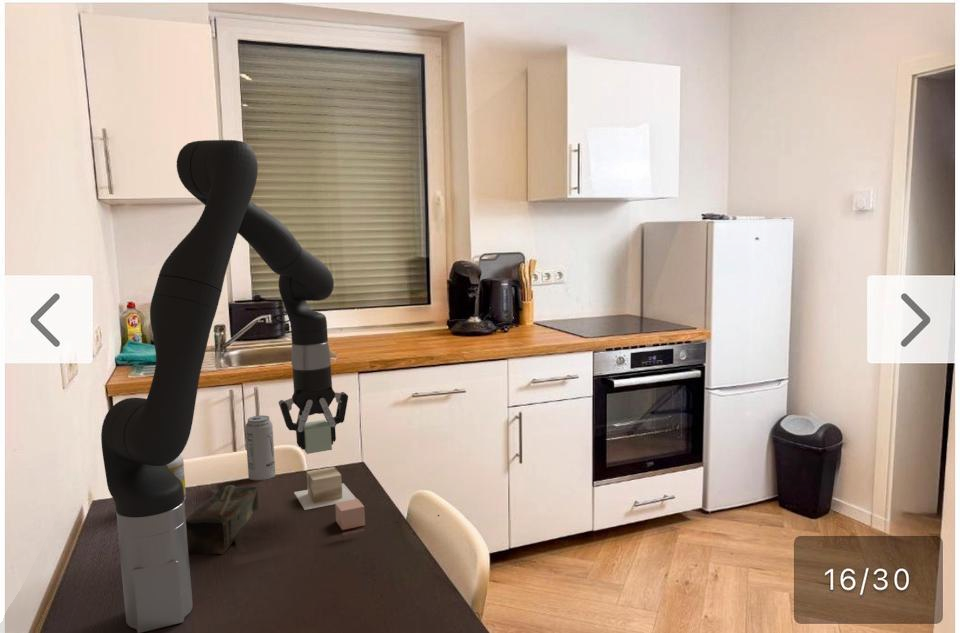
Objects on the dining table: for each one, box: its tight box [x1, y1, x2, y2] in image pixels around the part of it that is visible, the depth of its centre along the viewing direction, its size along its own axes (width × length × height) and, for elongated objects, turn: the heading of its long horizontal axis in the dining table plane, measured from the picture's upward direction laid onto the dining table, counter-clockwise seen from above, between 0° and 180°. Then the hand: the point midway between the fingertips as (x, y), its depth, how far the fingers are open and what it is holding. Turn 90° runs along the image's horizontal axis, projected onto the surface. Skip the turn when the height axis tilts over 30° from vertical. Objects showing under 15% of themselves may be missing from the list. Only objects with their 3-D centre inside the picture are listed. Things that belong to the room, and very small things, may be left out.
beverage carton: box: [186, 484, 259, 555], centre depth 133 cm, size 8×19×7 cm, turn 179°
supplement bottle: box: [167, 454, 187, 501], centre depth 148 cm, size 7×7×13 cm
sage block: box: [303, 419, 333, 455], centre depth 140 cm, size 5×5×5 cm
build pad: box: [293, 483, 357, 511], centre depth 147 cm, size 11×11×1 cm
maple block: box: [306, 466, 343, 503], centre depth 147 cm, size 6×6×5 cm
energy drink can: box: [245, 415, 276, 481], centre depth 160 cm, size 6×6×15 cm
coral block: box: [334, 498, 366, 537], centre depth 133 cm, size 4×4×5 cm
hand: (316, 445), depth 140 cm, fingers closed on sage block, 5 cm apart
